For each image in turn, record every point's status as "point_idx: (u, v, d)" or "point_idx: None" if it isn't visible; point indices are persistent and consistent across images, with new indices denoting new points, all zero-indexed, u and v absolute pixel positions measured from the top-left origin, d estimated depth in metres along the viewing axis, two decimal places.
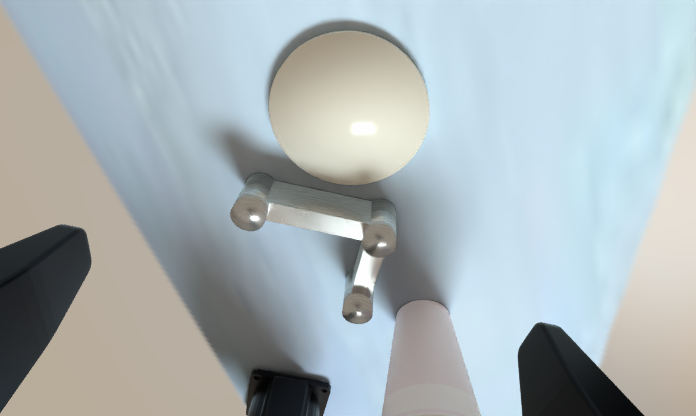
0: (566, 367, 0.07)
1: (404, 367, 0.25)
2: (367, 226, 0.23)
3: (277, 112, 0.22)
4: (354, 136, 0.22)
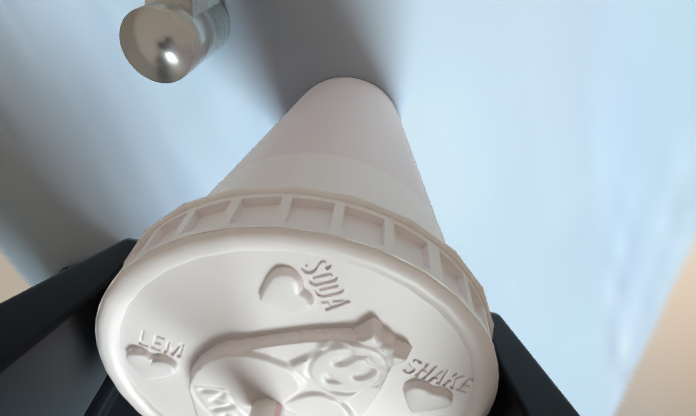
0: (496, 353, 0.07)
1: (252, 150, 0.09)
2: None
3: None
4: None
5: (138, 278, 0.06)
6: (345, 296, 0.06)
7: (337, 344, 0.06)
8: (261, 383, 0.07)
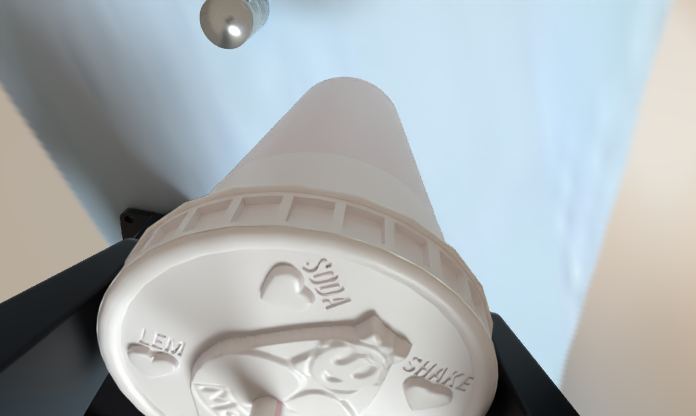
0: (496, 353, 0.07)
1: (253, 150, 0.09)
2: None
3: None
4: None
5: (140, 276, 0.06)
6: (346, 294, 0.06)
7: (338, 342, 0.06)
8: (262, 381, 0.07)
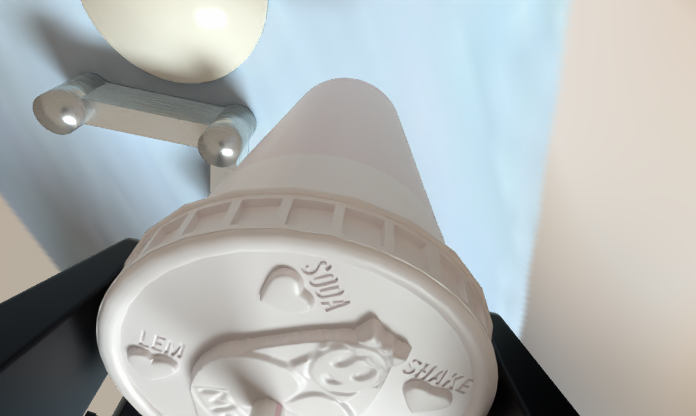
0: (496, 353, 0.07)
1: (252, 151, 0.09)
2: (206, 128, 0.19)
3: None
4: (182, 14, 0.18)
5: (139, 279, 0.06)
6: (345, 296, 0.06)
7: (337, 345, 0.06)
8: (261, 383, 0.07)
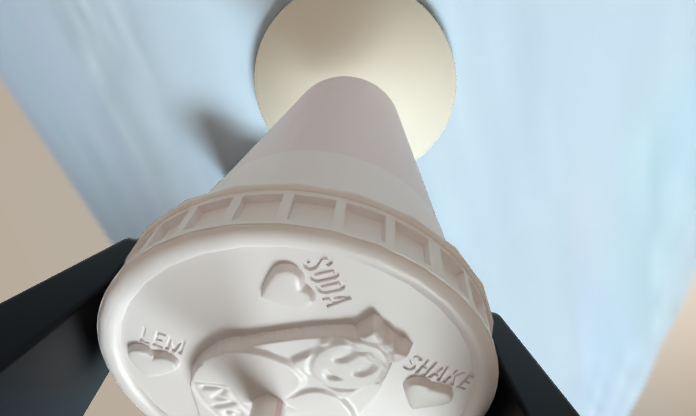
0: (496, 353, 0.07)
1: (253, 148, 0.09)
2: None
3: (264, 87, 0.17)
4: None
5: (140, 274, 0.06)
6: (346, 292, 0.06)
7: (338, 340, 0.06)
8: (262, 379, 0.07)
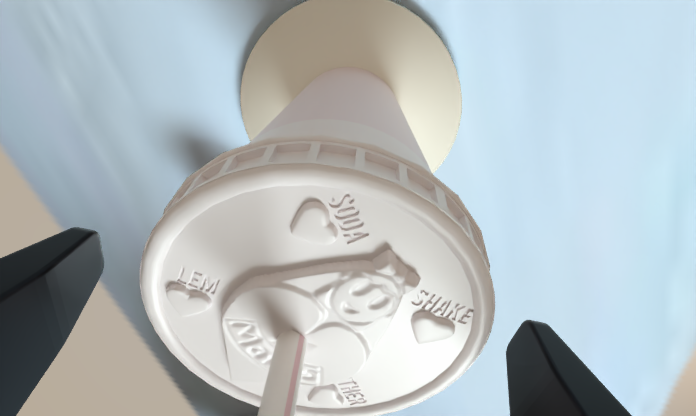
0: (552, 364, 0.07)
1: (270, 123, 0.10)
2: None
3: (251, 109, 0.16)
4: None
5: (185, 213, 0.07)
6: (365, 228, 0.07)
7: (356, 273, 0.07)
8: (287, 314, 0.07)
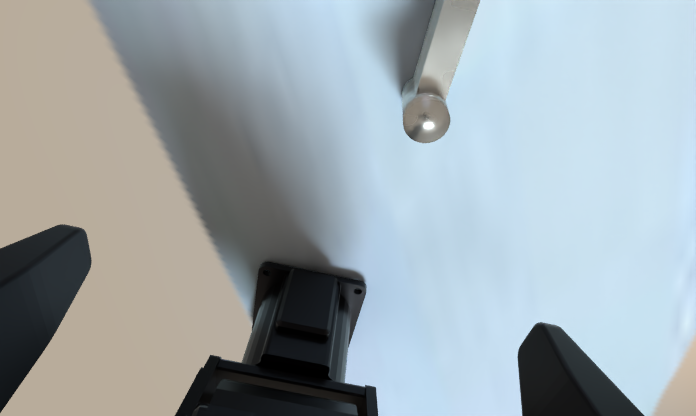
0: (566, 367, 0.07)
1: None
2: None
3: None
4: None
5: None
6: None
7: None
8: None
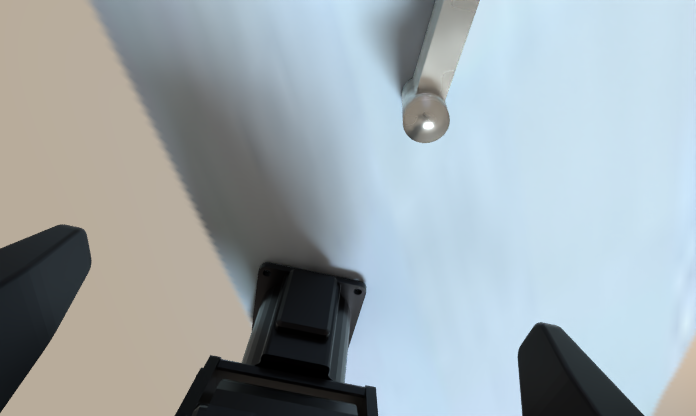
0: (566, 367, 0.07)
1: None
2: None
3: None
4: None
5: None
6: None
7: None
8: None
